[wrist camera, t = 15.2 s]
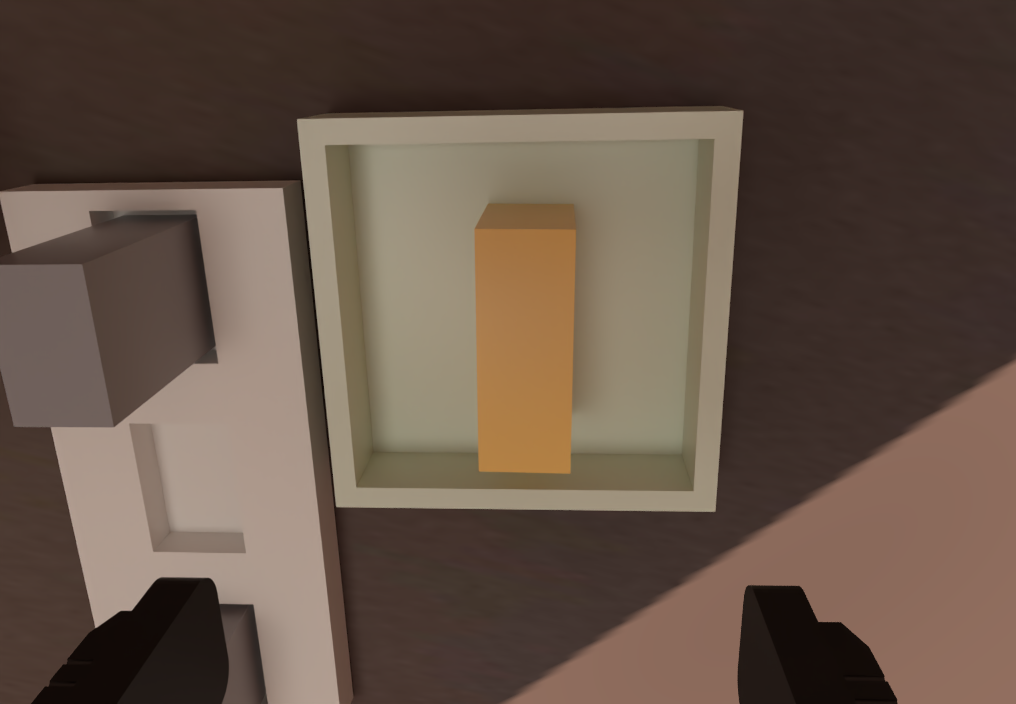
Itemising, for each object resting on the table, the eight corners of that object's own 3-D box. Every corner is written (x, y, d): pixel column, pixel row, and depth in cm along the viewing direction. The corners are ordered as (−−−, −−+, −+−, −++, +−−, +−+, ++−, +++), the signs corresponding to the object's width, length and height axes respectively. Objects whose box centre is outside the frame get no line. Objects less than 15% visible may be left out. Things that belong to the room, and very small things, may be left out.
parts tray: (327, 113, 29) (296, 119, 25) (721, 105, 28) (743, 110, 24) (358, 463, 33) (336, 506, 30) (699, 466, 32) (715, 511, 29)
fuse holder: (138, 690, 38) (116, 723, 36) (33, 184, 30) (-2, 191, 28) (353, 696, 37) (342, 729, 35) (300, 180, 29) (282, 188, 28)
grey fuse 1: (145, 340, 31) (14, 426, 24) (124, 215, 30) (-25, 265, 22) (222, 340, 31) (114, 427, 24) (204, 214, 30) (82, 264, 22)
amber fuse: (478, 471, 27) (474, 228, 24) (490, 413, 31) (488, 203, 29) (570, 473, 27) (576, 229, 24) (568, 414, 31) (573, 204, 28)
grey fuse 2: (205, 680, 37) (112, 839, 29) (189, 589, 35) (87, 732, 27) (270, 682, 36) (195, 842, 29) (257, 590, 35) (174, 735, 27)
